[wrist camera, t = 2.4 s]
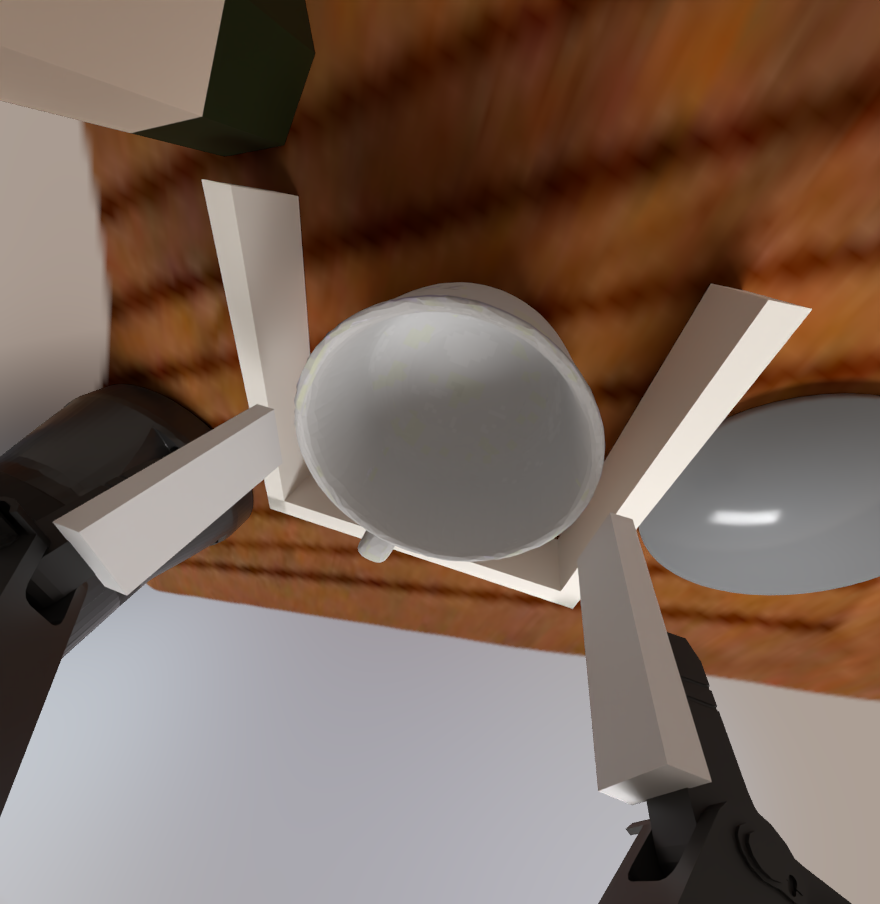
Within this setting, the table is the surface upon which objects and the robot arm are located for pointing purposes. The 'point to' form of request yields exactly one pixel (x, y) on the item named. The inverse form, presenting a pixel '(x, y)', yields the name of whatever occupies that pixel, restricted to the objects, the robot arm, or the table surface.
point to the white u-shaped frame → (626, 467)
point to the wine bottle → (162, 66)
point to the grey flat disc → (778, 500)
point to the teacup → (450, 425)
